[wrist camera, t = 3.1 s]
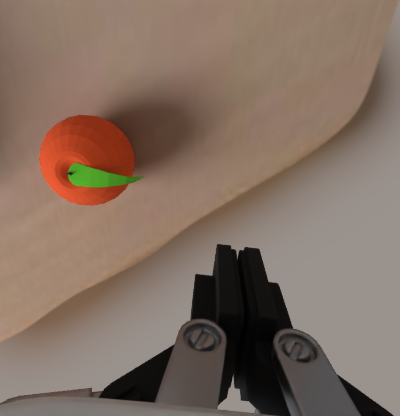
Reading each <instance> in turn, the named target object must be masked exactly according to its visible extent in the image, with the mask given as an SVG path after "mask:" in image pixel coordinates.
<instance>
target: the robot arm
mask: <svg viewBox="0 0 400 416" xmlns="http://www.w3.org/2000/svg"><path fill="white" fill-rule="evenodd" d="M233 375H234V386H235V388H237V389H240V394H241V400H242V401H249V402H250V403H251V404H252V405H253V406H254V407H255V408H256V409H255V413H246V412H237V411H228V410H218V409H217V407H218V405H219V404H220V403H221V402H222V401H223V400H225V399H226V398H227V394H228V389H229V388H230V386H231V382H232V377H233ZM0 416H393V415H392V414H391V413H390V412H388V411H387V410H386V409H384V408H383V407H381V406H380V405H379V404H377V403H376V402H374V401H373V400H372V399H370V398H369V397H367V396H366V395H365V394H363V393H362V392H361V391H359V390H358V389H357V388H355V387H354V386H352V385H351V384H350V383H348V382H347V381H346V380H344V379H343V378H341V377H340V376H339V375H337V374H336V372H335V370H334V369H333V367H332V365H331V364H330V362H329V360H328V358H327V357H326V355H325V354H324V352H323V350H322V348H321V347H320V345H319V344H318V343H317V341H316V340H315V339H313V338H312V337H311V336H310V335H308V334H306V333H304V332H302V331H300V330H297V329H293V327H292V324H291V321H290V318H289V315H288V311H287V308H286V305H285V303H284V299H283V296H282V293H281V290H280V287H279V285H278V284H277V283H272V282H268V279H267V275H266V271H265V268H264V264H263V261H262V257H261V254H260V250H259V249H257V248H248V247H245V248H244V251H242V250H240V251H239V254H238V260H237V254H236V250H234V249H231V246H230V245H221V244H217V248H216V254H215V262H214V268H213V275H212V276H209V275H200V274H196V275H195V282H194V290H193V299H192V309H191V320H190V321H188V322H186V323H185V324H184V325H182V327H181V328H180V330H179V333H178V336H177V339H176V342H175V344H174V345H173V346H171V347H169V348H168V349H166V350H164V351H163V352H161V353H160V354H158V355H156V356H155V357H153V358H151V359H150V360H148V361H147V362H145V363H143V364H142V365H140V366H139V367H137V368H135V369H133V370H132V371H130V372H129V373H127V374H125V375H124V376H122V377H120V378H119V379H117V380H116V381H114V382H112V383H111V384H110V385H108V386H107V387H106V388H105V389H104V391H99V392H92V388H87V389H78V390H70V391H60V392H51V393H41V394H33V395H24V396H18V397H14V398H10V399H7V400H6V401H4V402H2V403H0Z"/></svg>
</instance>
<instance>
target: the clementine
mask: <svg viewBox="0 0 400 416" xmlns="http://www.w3.org/2000/svg"><path fill="white" fill-rule="evenodd" d="M39 160H40V167H41V171H42V173H43V176H44V178H45V180H46V182H47V183H48V184H49V186H50V187H51V189H53V190H54V191H55V192H56V193H57V194H58V195H59V196H61V197H62V198H64V199H66V200H68V201H70V202H73V203H76V204H80V205H98V204H103V203H106V202H108V201H110V200H112V199H114V198H116V197H117V196H118V195H119V194H121V193H122V192H123V191H124V190H125V189H126V187H127V186H128V184H129V183H132V182H135V181H137V180H139V179H141V178H143V177H132V175H133V171H134V167H135V163H134V153H133V150H132V146H131V144H130V142H129V140H128V139H127V137H126V135H125V134H124V133H123V132H122V131H121V130H120V129H119V128H118V127H117V126H116V125H114V124H113V123H111V122H109V121H108V120H106V119H103V118H100V117H97V116H86V115H78V116H73V117H68V118H67V119H65V120H63V121H61V122H60V123H58V124H56V125H55V126H54V127H53V128H52V129H51V130H50V131H49V132H48V133H47V134H46V136H45V139H44V141H43V143H42V146H41V150H40V158H39Z"/></svg>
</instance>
